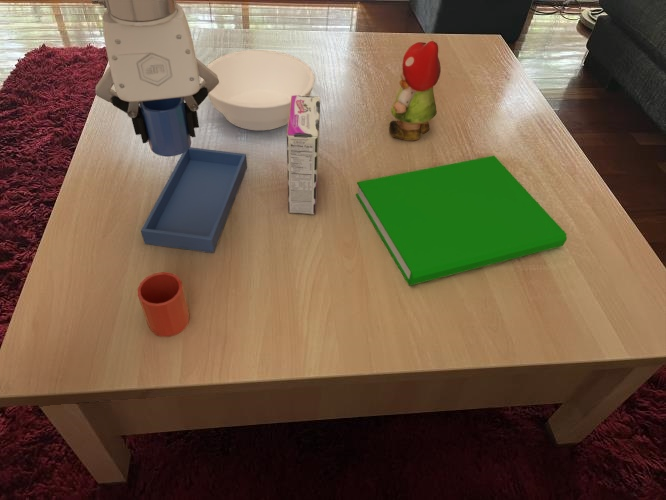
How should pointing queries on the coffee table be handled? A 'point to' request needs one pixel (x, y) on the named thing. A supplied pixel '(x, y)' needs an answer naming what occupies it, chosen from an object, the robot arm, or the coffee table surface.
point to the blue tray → (196, 200)
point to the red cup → (164, 304)
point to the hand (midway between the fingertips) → (168, 133)
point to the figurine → (416, 92)
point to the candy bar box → (303, 154)
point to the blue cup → (166, 126)
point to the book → (456, 218)
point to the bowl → (258, 87)
